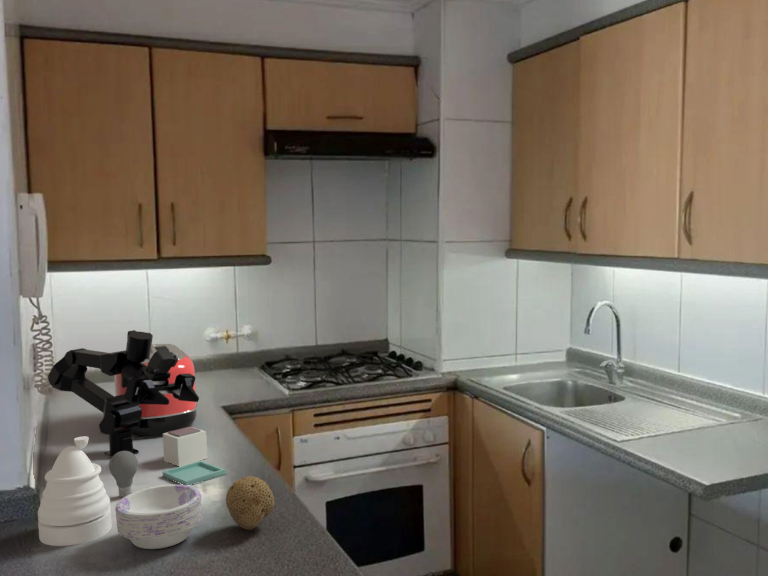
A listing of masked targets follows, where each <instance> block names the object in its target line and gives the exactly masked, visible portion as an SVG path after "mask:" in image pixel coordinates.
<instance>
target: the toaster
mask: <svg viewBox="0 0 768 576" xmlns="http://www.w3.org/2000/svg"><path fill="white" fill-rule="evenodd" d="M157 351H169V352H172V353H173V354H176V356H177V358H178V362H177V363H176V365H175V367H171V369H170V370H169V371H168V372H169V373H171V375H170V378H168V380H169V384H171V383H175V379H176V376H177V375H179V374H191V375H193V376H195V377H196V371H195V366H194V365H195V364H194V361H193V360H192V358H191V356H189V354H187V353H185V351H183V349H181V348H180V347H178V346H176V345H175V344H172V343H156V344H155V343H154V344H152V345H151V353H150V359H151V357H152V356H153V354H154V353H155V352H157ZM150 359H146V360H145V361H144V362H142V363H143V364H145V365H147V366H148V362H149V361H150ZM121 378H122V377H121V374H118V375H114V390H115V392H114V393H115V396H118V395H122V394H125V392H126V389H127V387H125V388H123V387H122V385H121V382H122V380H121ZM193 389H194V391H195V392H196V393H197V391H196V390H197V389H196V381H195V382H194V385H193ZM164 396H165V397H167V398H168V399H169V404H168V405H161V404H139V406H140V407H141V410H142V416H141V421H140V426H139V428H134V429H132V437H137V439H143V438H145V437H152V436H163V433H167V432H170V431H174V430H178V429H182V428H186V427H193V424H194V423H195V421H196V418H197V417H198V416H197V415H198V410H197V409H198V407H199V404H198V402H191V401H180V400H178V399H176V398H174V397H173V394H172V393H171V394H164ZM142 437H143V438H142Z"/></svg>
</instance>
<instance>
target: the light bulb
mask: <svg viewBox="0 0 768 576" xmlns="http://www.w3.org/2000/svg"><path fill="white" fill-rule="evenodd" d="M138 468H139V459H138V458H137V456H136V455H135V454H133V453H131V452H129V451H120V452H118V453H116V454H115V455H114V456H113V457H110V460H109V463H108V469H109V473H110V474H111V475H112V477H113V478H114V480H115V482H116V486H117V487H118V496H119V497H122V498H123V497H125V496H127V495H129V494H131V493H133V491H132V485H133V479H134V476H135V475H136V472H137V470H138Z"/></svg>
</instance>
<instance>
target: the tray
mask: <svg viewBox="0 0 768 576" xmlns="http://www.w3.org/2000/svg"><path fill="white" fill-rule="evenodd" d="M226 470H227V469H225V468H223V467H220V466H217V465H215V464H213V463H209V462H206V461H205V460H201V461H198V462H194V463H191V464H187V465H184V466H181V467H178V466H176V467H174V468H170V469H167V470H163V471H162V477H163V478H165V477H166V478H165V479H167V478H168V479H167V480H169V479H171V480H170V481H172V480H174V481H176V482H179V483H181V484H183V485H191V484H194V483H197V482H200V483H202V482H201V481H203V482H206V481H205V480H207V481H209V480H208V479H210V480H212V479H211V478H213V479H216V478H219V477H222V476H221V475H223V476H226V475H225V474H227V472H226ZM218 476H219V477H218ZM215 477H216V478H215ZM174 481H173V482H174ZM176 482H175V483H176ZM179 483H178V484H179ZM181 484H180V485H181ZM197 484H198V483H197ZM194 485H195V484H194ZM191 486H192V485H191Z"/></svg>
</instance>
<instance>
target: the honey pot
mask: <svg viewBox="0 0 768 576" xmlns="http://www.w3.org/2000/svg"><path fill="white" fill-rule="evenodd" d="M73 441H74V446H73V445H70V446H67V447H66V448H64V449H63V450H62V451H61V452H60V453H59V454H58V456H57V458H56V459H55V462H54V463H53V465H52V468H51V469H50V470H48V471H47V472H46V473H45V475H44V480H45V481H46V485H45V488H44V490H43V491H42V498H41V500H40V505H39V507H38V510H37V516H38V517H37V520H38V522H37V526H38V537H39V538H38V539H39V540H40V543H43V545H47V546H48V545H49V546H53V547H66V546H68V547H69V546H74V545H80V544H85V543H88V542H91V541H93V540H96V539H99V538H101V537H103V536H105V535H106V534H107V533H108V532H110V531H111V529H112V527H113V526H112V509H111V498H110V496H109V495H108V494H107V490H106V488H105V487H104V482H103V481H102V480H101V478H100V474H101V472H102V467H101V465H99V464H97V463H94V462H92V461H91V459H90V458H89V456H88V455H87V454H86V453H85V452H84V451H83V450H82V449H83V448H85V447H87V445H89V443H88V442H89V436H85V435H84V436H78V437H74V439H73Z"/></svg>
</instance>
